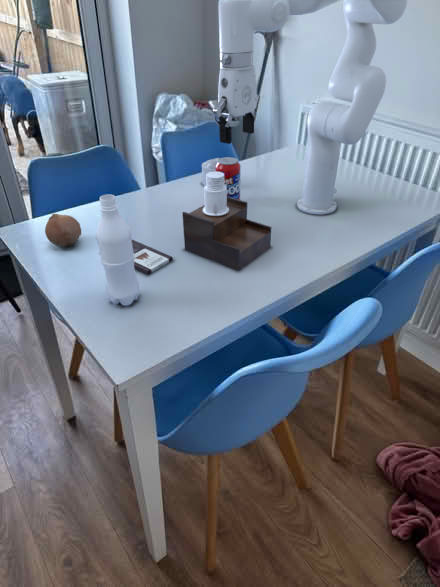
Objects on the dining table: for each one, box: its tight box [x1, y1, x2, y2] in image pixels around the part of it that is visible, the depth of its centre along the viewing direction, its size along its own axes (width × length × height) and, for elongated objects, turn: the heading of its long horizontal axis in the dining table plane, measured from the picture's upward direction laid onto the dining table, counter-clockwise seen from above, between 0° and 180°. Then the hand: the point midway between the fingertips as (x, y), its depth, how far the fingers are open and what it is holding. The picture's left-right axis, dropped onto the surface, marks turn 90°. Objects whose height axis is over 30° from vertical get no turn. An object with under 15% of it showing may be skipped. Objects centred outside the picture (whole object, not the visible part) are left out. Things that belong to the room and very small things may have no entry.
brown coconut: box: [44, 213, 82, 248], centre depth 117 cm, size 10×9×10 cm
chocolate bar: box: [132, 239, 173, 276], centre depth 113 cm, size 9×1×18 cm
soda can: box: [215, 156, 242, 200], centre depth 135 cm, size 8×8×15 cm
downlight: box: [203, 171, 229, 216], centre depth 110 cm, size 8×7×10 cm
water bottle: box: [95, 193, 140, 307], centre depth 91 cm, size 7×7×25 cm
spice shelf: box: [181, 197, 273, 272], centre depth 113 cm, size 15×18×11 cm
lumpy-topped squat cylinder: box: [201, 157, 221, 187], centre depth 152 cm, size 10×13×9 cm
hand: (237, 137), depth 106 cm, fingers open, 9 cm apart
